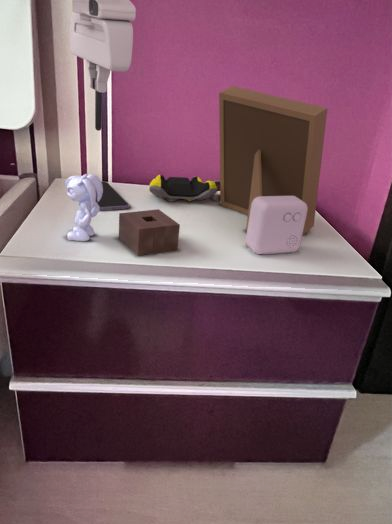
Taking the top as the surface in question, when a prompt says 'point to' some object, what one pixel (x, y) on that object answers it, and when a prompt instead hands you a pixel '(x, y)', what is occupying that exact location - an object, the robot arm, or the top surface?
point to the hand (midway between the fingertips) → (98, 90)
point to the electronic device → (276, 224)
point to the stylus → (98, 107)
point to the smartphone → (110, 199)
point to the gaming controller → (182, 188)
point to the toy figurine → (84, 203)
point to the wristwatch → (217, 197)
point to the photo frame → (269, 149)
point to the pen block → (148, 232)
